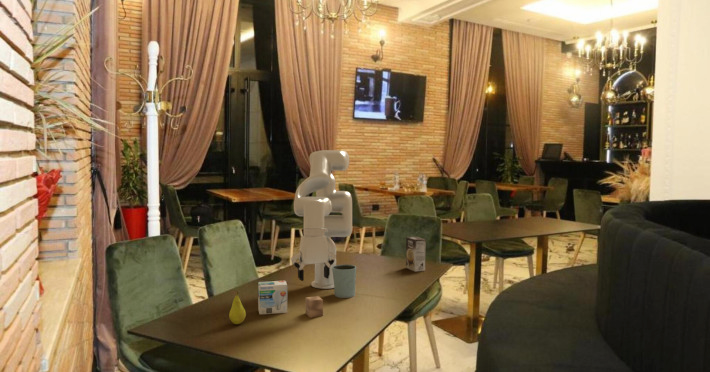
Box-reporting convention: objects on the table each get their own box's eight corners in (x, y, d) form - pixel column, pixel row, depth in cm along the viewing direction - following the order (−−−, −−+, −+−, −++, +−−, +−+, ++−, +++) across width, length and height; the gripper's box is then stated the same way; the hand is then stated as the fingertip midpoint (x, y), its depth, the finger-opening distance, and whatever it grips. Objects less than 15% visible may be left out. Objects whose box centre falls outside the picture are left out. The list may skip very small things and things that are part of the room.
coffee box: (405, 267, 264) (405, 236, 263) (416, 266, 267) (416, 236, 266) (414, 271, 256) (415, 239, 255) (425, 270, 259) (426, 238, 258)
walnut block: (318, 311, 193) (318, 295, 193) (322, 315, 189) (322, 299, 188) (305, 313, 191) (305, 297, 191) (310, 317, 187) (309, 301, 186)
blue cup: (353, 299, 210) (353, 270, 209) (329, 297, 212) (329, 268, 211) (358, 292, 220) (358, 264, 219) (335, 290, 222) (335, 263, 221)
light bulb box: (259, 315, 189) (258, 286, 189) (257, 309, 196) (257, 281, 195) (288, 312, 192) (288, 284, 191) (285, 307, 199) (285, 279, 198)
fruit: (238, 320, 184) (238, 287, 183) (249, 323, 180) (249, 289, 179) (225, 324, 179) (225, 290, 178) (236, 327, 176) (235, 293, 175)
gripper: (332, 230, 195) (332, 274, 196) (288, 232, 188) (288, 278, 189) (339, 232, 188) (339, 279, 189) (294, 235, 181) (294, 283, 182)
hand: (313, 278), depth 189 cm, fingers open, 9 cm apart
